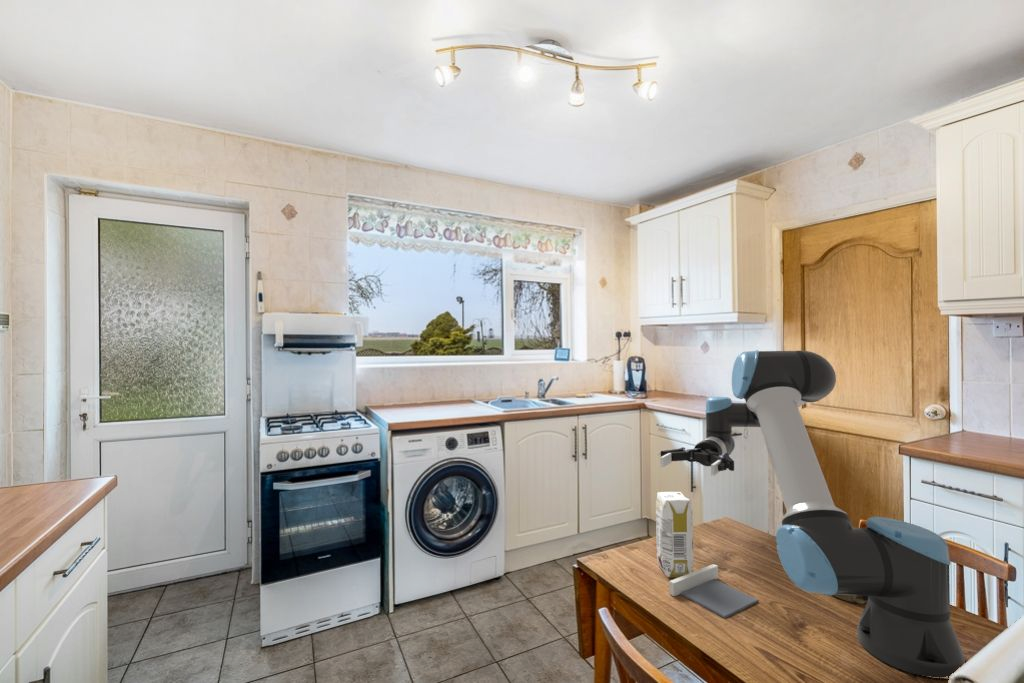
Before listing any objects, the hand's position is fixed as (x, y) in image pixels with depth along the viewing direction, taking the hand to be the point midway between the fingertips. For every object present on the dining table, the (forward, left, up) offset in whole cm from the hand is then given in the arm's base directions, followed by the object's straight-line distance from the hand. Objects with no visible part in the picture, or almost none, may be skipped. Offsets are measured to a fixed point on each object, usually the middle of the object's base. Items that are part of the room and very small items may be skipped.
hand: (686, 466), depth 127 cm
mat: (-17, +11, -24) cm, 32 cm away
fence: (-11, +11, -24) cm, 29 cm away
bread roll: (-31, -16, -25) cm, 43 cm away
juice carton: (-3, +9, -25) cm, 27 cm away
